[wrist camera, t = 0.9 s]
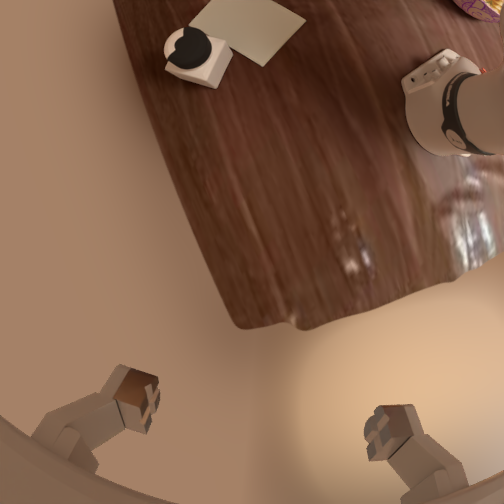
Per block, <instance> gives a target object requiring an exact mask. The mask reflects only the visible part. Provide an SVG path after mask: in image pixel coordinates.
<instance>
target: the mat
mask: <svg viewBox="0 0 504 504" xmlns="http://www.w3.org/2000/svg"><path fill="white" fill-rule="evenodd" d="M305 22H306V20H305V19H303V18H302V17H300V16H298V15H297V14H295V13H293V12H292V11H290V10H288V9H286V8H285V7H283V6H281V5H279V4H277V3H276V2H274V1H272V0H211V1H210V2H209V3H208V4H207V5H206V6H205V7H204V9H203V10H202V11H201V12H200V13H199V14H198V15H197V16H196V17H195V18H194V19H193V20H192V22H191V23H190V24H189V26H191V27H195V28H198V29H200V30H202V31H203V32H204V33H205V34H207V35H209V36H211V37H215V38H219V39H223V40H225V41H226V42H227V44H228V46H229V47H231V48H232V49H234V50H236V51H237V52H239V53H241V54H242V55H244V56H246V57H247V58H249V59H251V60H252V61H254V62H255V63H257V64H259V65H260V66H262V67H264V66H265V64H266V63H267V62H268V61H269V60H270V59H271V58H272V57H273V55H274V54H275V53H276V52H277V51H278V50H279V49H280V48H281V47H282V46H283V45H284V44H285V43H286V41H287V40H288V39H289V38H290V37H291V36H292V35H293V34H294V33H295V32H296V31H297V30H298V29H299V28H300V27H301V26H302V25H303V24H304V23H305Z"/></svg>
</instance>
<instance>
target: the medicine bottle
mask: <svg viewBox="0 0 504 504" xmlns="http://www.w3.org/2000/svg"><path fill="white" fill-rule="evenodd" d="M164 54H165V57H166V58H167V60H168V63H167V65H166V67H165V70H167V71H168V72H170V73H172V74H174V75H175V76H177V77H179V78H180V79H184V80H187V81H191V82H194V83H197V84H201V85H204V86H207V87H210V88H213V89H216V88H217V87H218V85H219V83H220V81H221V79H222V76H223V74H224V72H225V70H226V68H227V66H228V64H229V62H230V60H231V58H232V56H233V53H232V51H231V49H230V48H229V46H228V44H227V42H226V41H225V40H223V39H219V38H215V37H211V36H207V35H205V33H204V32H203V31H202V30H200V29H198V28H195V27H186V28H182V29H179V30H177V31H176V32H174V33H173V34H172V35H171V36H170V37H169V38H168V39H167V41H166V43H165V46H164Z"/></svg>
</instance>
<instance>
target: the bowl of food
mask: <svg viewBox="0 0 504 504" xmlns="http://www.w3.org/2000/svg"><path fill="white" fill-rule="evenodd" d="M453 1H454V2H455V3H456V4H457V5H458V6H459V7H460V8H461V9H462V10H464V11H465V12H466V13H468V14H469V15H471V16H473V17H474V18H477V19H479V20H482V21H485V22H499V18H500V11H501V7H502V5H503V2H504V0H453Z"/></svg>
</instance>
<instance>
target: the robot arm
mask: <svg viewBox="0 0 504 504" xmlns="http://www.w3.org/2000/svg"><path fill="white" fill-rule="evenodd" d="M499 27H500V35H501V38H502V42H503V47H504V2H503V5H502V7H501V11H500V18H499ZM482 69H483V68H482ZM483 71H484V72H485V73H484V72H483ZM483 71H482V70H481V69H479V68H478V67H477V66H476V65H475V64H474V63H473V62H471V61H470V60H469V59H467V58H465V57H461V56H459V55H458V54H457V53H455V52H453V51H451V50H449V49H445V50H443V51H441V52H440V53H438V54H437V55H435V56H434V57H432V58H431V59H429V60H428V61H426V62H425V63H423V64H422V65H421V66H419V67H418V68H416V69H415V70H413V71H412V72H411V73H409V74H408V75H406V76H405V77H403V78H402V80H401V84H402V88H403V91H404V93H405V97H406V105H405V111H406V118H407V122H408V125H409V128H410V130H411V132H412V134H413V136H414V137H415V139H416V140H417V142H418V143H419V144H420V145H421V146H422V147H423V148H424V149H426V150H427V151H428V152H430V153H432V154H435V155H438V156H449V155H454V154H456V155H459V156H462V157H468V156H470V155H471V154H480V155H483V156H487V155H494V154H500V155H504V58H503V61H502V64H501V65H500V66H499V67H498V68H496V69H494V70H491V71H489V72H486V71H485V70H484V69H483ZM411 78H412V79H413V80H414V82H412V81H411ZM158 383H159V380H158V377H157V376H154V375H151V374H148V373H145V372H142V371H139V370H136V369H133V368H130V367H127V366H124V365H122V364H119V365H118V366H116V368H115V369H114V371H113V372H112V374H111V375H110V377H109V379H108V380H107V382H106V383H105V385H104V386H103V388H102V390H101V391H100V393H96V392H95V393H93V394H91V395H88V396H86V397H84V398H82V399H79V400H77V401H75V402H72V403H70V404H68V405H65V406H63V407H61V408H58V409H56V410H53V411H51V412H48V413H47V414H46V415H45V417H44V418H43V419H42V421H41V423H40V424H39V425H38V427H37V428H36V430H35V431H34V433H33V434H32V436H31V437H29V436H28V435H26V434H25V433H23V432H22V431H21V430H19V429H18V428H16V427H15V426H14V425H12V424H11V423H10V422H8V421H7V420H6V419H5V418H3V417H2V416H1V415H0V504H177V503H173V502H169V501H166V500H162V499H159V498H155V497H153V496H149V495H146V494H143V493H140V492H138V491H135V490H132V489H129V488H127V487H124V486H121V485H119V484H117V483H114V482H112V481H109V480H107V479H105V478H102V477H100V476H98V475H96V474H95V472H96V470H97V468H98V465H99V463H98V461H97V459H96V458H95V457H94V455H93V453H92V452H91V451H92V450H94V449H95V448H97V447H98V446H100V445H102V444H103V443H105V442H106V441H108V440H109V439H111V438H112V437H114V436H116V435H117V434H118V433H120V432H122V431H123V430H125V428H127V429H130V430H133V431H136V432H140V433H143V434H147V432H148V430H149V427H150V425H151V422H152V418H151V415H152V414H154V413H155V412H156V411H157V408H158V405H159V401H160V390H159V389H158V388H157V386H158ZM374 414H375V415H373V416H371V417H370V418H369V419H368V420H367V422H366V423H365V427H364V436H365V440H366V441H367V442H368V443H369V445H368V446H367V453H368V459H369V461H382V460H387V461H388V463H389V464H390V465H391V466H392V468H393V469H394V470H395V471H396V473H397V474H398V475H399V476H400V477H401V478H402V480H403V481H404V482H405V483H406V485H407V486H408V487H409V488H410V489H411V490H410V491H408V492H407V493H405V494H404V495H403V496H402V497H401V504H504V470H503V471H501V472H499V473H497V474H495V475H493V476H491V477H489V478H487V479H485V480H483V481H480V482H478V483H476V484H473V485H471V486H469V484H468V481H467V478H466V475H465V472H464V469H463V466H462V463H461V462H460V461H459V460H457V459H456V458H455V457H454V456H453V455H451V454H450V453H449V452H448V451H447V450H445V449H444V448H443V447H442V446H441V445H440V444H438V443H437V442H436V441H435V440H434V439H432V438H431V437H430V436H429V435H428V434H424V431H423V429H422V426H421V423H420V420H419V418H418V415H417V413H416V410H415V407H414V406H413V405H412V404H407V405H380V406H378V407H376V409H375V410H374Z"/></svg>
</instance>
